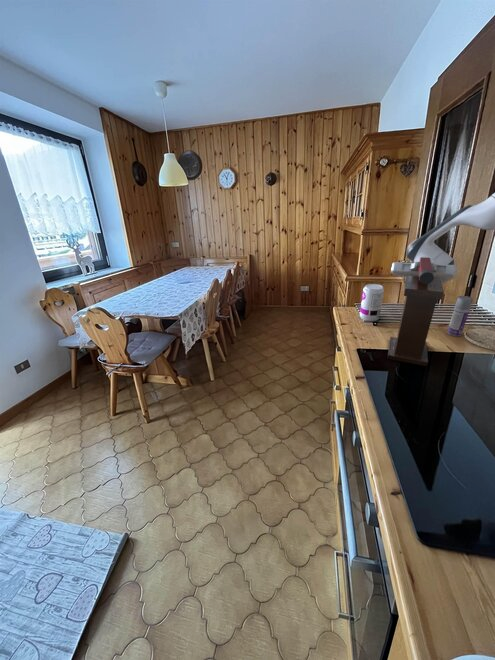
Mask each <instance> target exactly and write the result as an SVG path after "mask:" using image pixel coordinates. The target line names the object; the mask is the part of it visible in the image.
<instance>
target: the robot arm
mask: <svg viewBox="0 0 495 660" xmlns="http://www.w3.org/2000/svg"><path fill="white" fill-rule="evenodd" d="M458 226H468V227H472V228H476V229H479V230H484V231H494V230H495V192H494V193H492V194H491V195H490V196H489V197H488V198H486V199H485V200H483V201H482V202H479V203H478V204H474V205H473V204H468V205H466V206H464V207H462V208H460V209H458V211H455V212H454V213H453V214H451V215H450V216H449V217H447V218H445V219H444V220H443V221H441V222H440V223H438V224H437V225H436V226H434V227H433V228H431V229H430V230H428V232H427V231H426V233H424V234H423V235H421V236H420V237H418V238H416V239H415V240H413V241H412V242H411V243H409V245H408V246H407V248H406V258H407V259H408V260H410V261H411V262H405V261H404V262H403V261H395V262H392V263H391V269H390V271H389V272H390V273H391V274H392V275H393V276H395V277H405V279H406V276H419V267H420V262H419V261H420V257H425V258H430V260H431V265H432V270H433V275H434V278H440V279H441V283H442V285H446V284H447V282H449V281H451V280H453V279H454V278H455V277H456V276H457V272H458V265H456V264H455V259H454V258H453V257H451V255H449V253H447V252H446V251H445V250H443V249H442V248H440V247H439V246H438V245H437V244H436V243H435V242H436V240H437V239H438V238H441V236H443V235H445V234H446V233H447V232H449V231H450V230H452V229H454V228H455V227H458ZM405 279H404V280H405Z"/></svg>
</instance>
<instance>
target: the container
mask: <svg viewBox="0 0 495 660" xmlns="http://www.w3.org/2000/svg"><path fill="white" fill-rule="evenodd" d="M473 300H474V299H473V297H471V296H469V295H468V296H467V295H459V296H458V297H457V299H456V303H455V305H454V307H453V312H452V314H451V318H450V321H449V324H448V328H447V332H446V333H447V334H448V335H449V336H453V337H461V336H462V334H463V331H464V328H465V326H466V322H467V319H468V316H469V313H470V310H471V308H472V304H473Z"/></svg>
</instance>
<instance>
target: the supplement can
mask: <svg viewBox="0 0 495 660" xmlns="http://www.w3.org/2000/svg"><path fill="white" fill-rule="evenodd" d="M384 293H385V289H384V286H383V285H381V284H378V283H368V284H365V286H364V287H363V289H362V296H361V304H360V310H359V318H360V319H361V320H363V321H365V322H377V321H378V320H379V319H380V317H381V310H382V304H383V298H384Z"/></svg>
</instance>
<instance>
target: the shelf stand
mask: <svg viewBox="0 0 495 660" xmlns="http://www.w3.org/2000/svg"><path fill="white" fill-rule="evenodd" d="M405 278H406V279H404V287H403V296H404V297H405V298H404V303H403V307H402V312H401V317H400V322H399V325H398V331H397V335H396V337H393V336H390V338H389V344H388V352H387V357H386V359H387V360H392V361H396V362H402V363H407V364H413V365H417V366H423V367H428V364H429V357H428V356H429V355H428V345H427V344H428V343H427V338H428V334H429V330H430V326H431V324H432V319H433V316H434V312H435V309H436V304H437V301H438V300H443V297H444V294H445V291H444V287H443V284H442V283H441V279H440V278H434V279H433V281H432V282H431V283H429V284H423V283H421V282H420V281H419V276H406V277H405Z"/></svg>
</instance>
